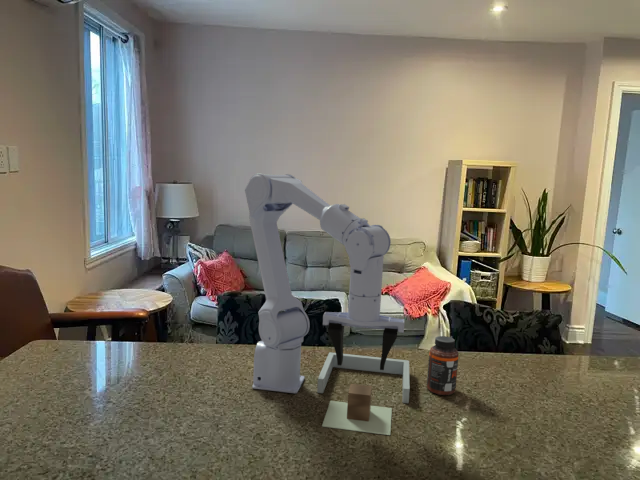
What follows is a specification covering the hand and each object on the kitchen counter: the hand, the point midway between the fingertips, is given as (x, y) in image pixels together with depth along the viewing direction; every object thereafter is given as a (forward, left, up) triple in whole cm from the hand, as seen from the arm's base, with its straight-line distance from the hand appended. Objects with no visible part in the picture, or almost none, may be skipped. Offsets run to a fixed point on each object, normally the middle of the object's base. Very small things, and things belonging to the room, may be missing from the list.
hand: (360, 365), depth 89 cm
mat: (0, 0, -10) cm, 10 cm away
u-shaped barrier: (0, +15, -10) cm, 18 cm away
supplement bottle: (+16, +16, -10) cm, 25 cm away
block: (0, 0, -10) cm, 10 cm away
